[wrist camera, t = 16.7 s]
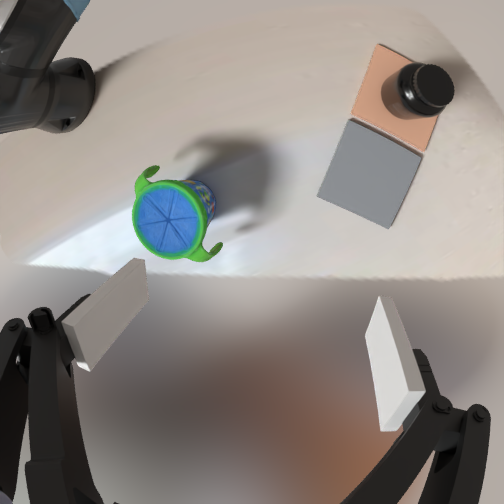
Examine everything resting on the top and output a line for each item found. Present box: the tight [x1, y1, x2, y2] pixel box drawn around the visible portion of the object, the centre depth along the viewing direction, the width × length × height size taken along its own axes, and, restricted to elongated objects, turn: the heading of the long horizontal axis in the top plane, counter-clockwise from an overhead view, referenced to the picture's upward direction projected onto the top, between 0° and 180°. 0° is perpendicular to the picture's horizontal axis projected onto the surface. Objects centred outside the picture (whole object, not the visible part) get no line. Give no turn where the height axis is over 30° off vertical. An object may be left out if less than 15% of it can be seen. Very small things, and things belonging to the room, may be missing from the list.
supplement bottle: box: [381, 63, 454, 120], centre depth 26 cm, size 7×7×12 cm
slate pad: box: [317, 120, 421, 229], centre depth 38 cm, size 12×12×1 cm
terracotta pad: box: [350, 44, 438, 152], centre depth 32 cm, size 12×12×1 cm
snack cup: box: [132, 165, 223, 262], centre depth 40 cm, size 16×11×10 cm
